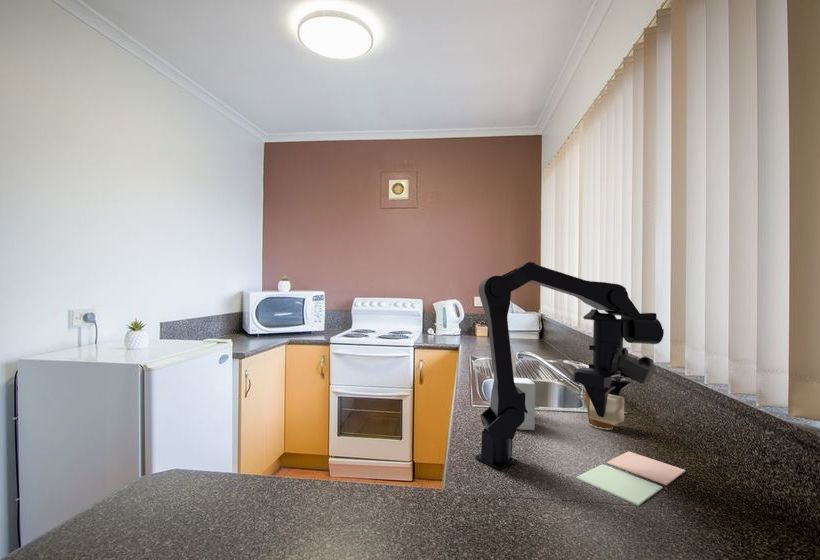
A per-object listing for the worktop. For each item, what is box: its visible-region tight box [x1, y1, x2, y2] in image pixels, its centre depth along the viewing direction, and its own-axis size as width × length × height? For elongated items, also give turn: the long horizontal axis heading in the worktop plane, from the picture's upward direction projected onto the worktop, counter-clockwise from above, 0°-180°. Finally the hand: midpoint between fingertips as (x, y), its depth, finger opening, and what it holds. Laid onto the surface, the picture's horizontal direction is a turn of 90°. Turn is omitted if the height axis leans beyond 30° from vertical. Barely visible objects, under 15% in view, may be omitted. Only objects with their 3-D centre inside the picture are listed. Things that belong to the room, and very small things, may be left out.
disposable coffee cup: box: [582, 385, 615, 428], centre depth 102 cm, size 10×10×12 cm
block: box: [589, 394, 625, 426], centre depth 77 cm, size 5×5×5 cm
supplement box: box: [514, 377, 536, 431], centre depth 100 cm, size 7×7×13 cm
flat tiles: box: [575, 450, 686, 507], centre depth 72 cm, size 24×11×1 cm, turn 127°
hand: (606, 414), depth 77 cm, fingers closed on block, 5 cm apart
